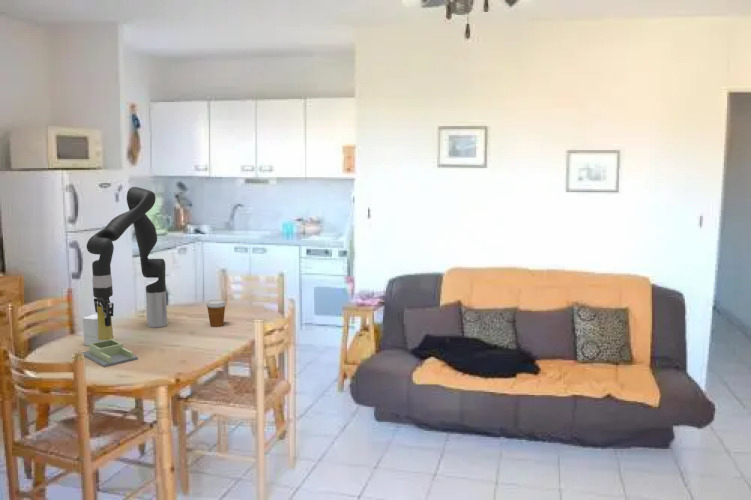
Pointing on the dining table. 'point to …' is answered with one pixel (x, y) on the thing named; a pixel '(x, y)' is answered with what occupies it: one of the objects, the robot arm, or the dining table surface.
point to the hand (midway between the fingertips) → (104, 324)
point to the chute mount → (109, 353)
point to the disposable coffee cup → (216, 312)
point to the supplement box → (91, 329)
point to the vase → (103, 326)
